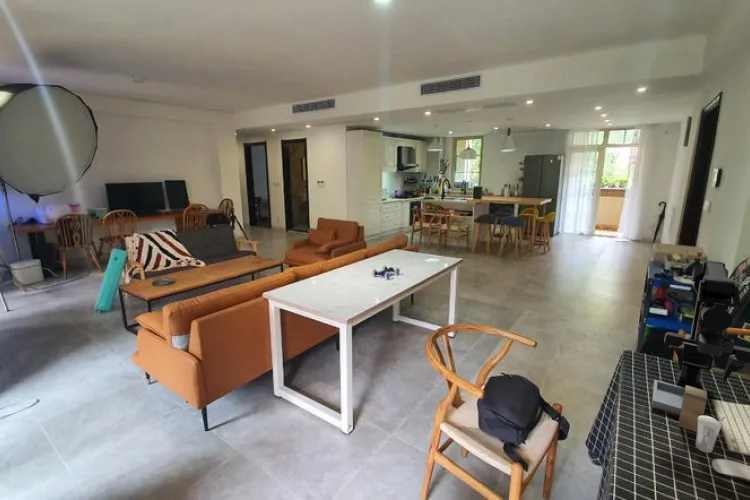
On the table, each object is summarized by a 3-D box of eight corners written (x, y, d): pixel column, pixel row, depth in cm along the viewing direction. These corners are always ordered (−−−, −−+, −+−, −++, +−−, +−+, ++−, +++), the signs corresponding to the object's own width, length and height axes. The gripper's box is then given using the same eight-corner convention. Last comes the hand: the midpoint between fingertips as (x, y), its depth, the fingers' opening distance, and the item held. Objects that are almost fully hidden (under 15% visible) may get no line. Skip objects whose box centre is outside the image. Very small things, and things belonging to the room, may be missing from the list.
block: (679, 417, 108) (685, 385, 106) (699, 424, 106) (706, 390, 103) (678, 426, 105) (685, 392, 103) (699, 433, 102) (706, 398, 100)
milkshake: (723, 456, 94) (731, 423, 92) (699, 453, 95) (706, 420, 93) (711, 443, 98) (718, 411, 96) (688, 441, 99) (695, 409, 97)
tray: (653, 386, 124) (654, 379, 123) (690, 396, 118) (691, 389, 118) (651, 407, 113) (653, 400, 113) (692, 419, 108) (693, 412, 107)
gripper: (669, 319, 102) (660, 372, 103) (765, 338, 90) (753, 397, 92) (668, 312, 110) (660, 362, 112) (756, 329, 99) (745, 383, 101)
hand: (701, 375), depth 104 cm, fingers open, 9 cm apart
